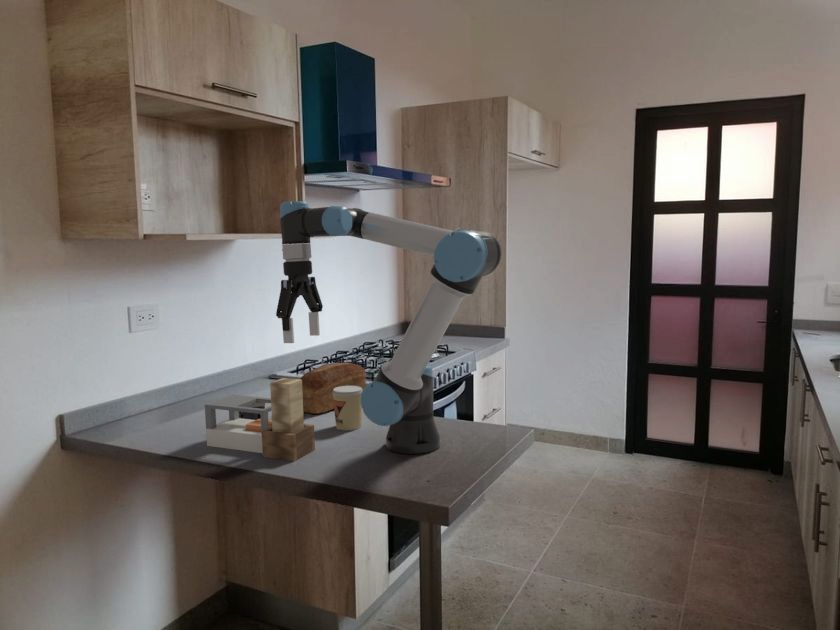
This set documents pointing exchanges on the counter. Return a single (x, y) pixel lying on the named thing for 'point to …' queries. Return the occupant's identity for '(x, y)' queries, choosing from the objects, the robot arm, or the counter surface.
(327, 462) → the counter surface
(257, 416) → the electrical switch
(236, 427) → the grey frame
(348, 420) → the coffee cup
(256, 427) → the orange cube
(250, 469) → the counter surface
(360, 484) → the counter surface
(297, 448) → the holder
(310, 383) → the bread
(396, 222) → the robot arm
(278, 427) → the tan wooden block
